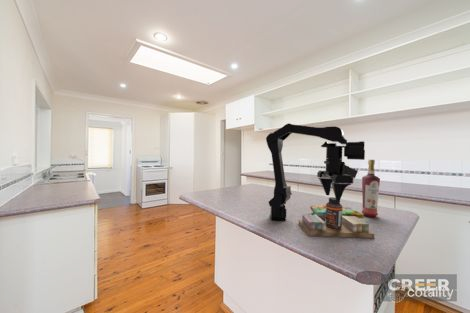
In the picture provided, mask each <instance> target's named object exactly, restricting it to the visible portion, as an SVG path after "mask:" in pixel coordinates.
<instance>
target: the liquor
mask: <svg viewBox="0 0 470 313" xmlns="http://www.w3.org/2000/svg"><path fill="white" fill-rule="evenodd" d="M375 162H376V160H375V159H368V160H367V164H368V167H367V174H366V175H364V176H362V177H361V187H362V190H361V191H362V192H361V194H362V210H361V214H363V215H364V217H368V218H375V217H377V216H378V215H379V213H378V203H379V202H378V201H379V193H380V181H381V179H380V178H379V176H377V175H375Z"/></svg>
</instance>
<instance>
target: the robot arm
mask: <svg viewBox="0 0 470 313" xmlns="http://www.w3.org/2000/svg"><path fill="white" fill-rule="evenodd" d="M291 134H296V135H301V136H302V135H303V136H311V137H317V138H320V139H323V140H327V141H324V143H322V145H320V147H321V148H326V152H325V153H326V154H325V160H323V163H324V164H325V170H318V172H316V174H317V175H316V177H317V178H318V180H319V182H320V184H321V186H322V188H323V191H324V192H325V195H326V196H330V194H331V187H332V190H333V193H334V194H333V195H334V198H336V200H337V201H340V202H341V198H342V196H343V194H344V191H345V189H346V188H347V187H349V186H351V185H352V184H354V179H356V177H357V175H358V172H359V171H358V170H357V169H356V168H352V167H350V166H349V165H347V164H346V162H345V161H343V156H344V157H346V159H347V160H359V161H361V160H362V161H364V160H365V153H366V152H365V151H366V150H365V140H364V141H363V140H362V141H348V139H346V138H345V137H344V131H343V130H342V129H341V128H340V127H338V126H334V125H333V126H321V127H318V126H317V127H316V126H309V125H301V124H299V125H298V124H293V123H290V122H289V123H286V124H285V125H283V126H282V127H280V128H278V129H276V130H275V131H274V132H270V133H269V134H268V135H267V136H266V138H265V140H266V144H267V149H269V151H270V153H271V160H272V168H273V175H274V188H273V197H272V198H271V199H270V200H269V201H268V205H269V207H270V211H269V212H270V214H269V217H270V220H271V221H282V222H283V221H285V222H286V221H287V208H286V204H287V202H288V201H289V200H290V199H291V195H292V194H293V193H292V190H291V185H287V184H288V183H287V182H286V176H285V170H284V162H283V155H282V150H283V147H284V146H283V145H284V141H285V140H286V139H288V137H290V135H291ZM328 141H329V143H328ZM330 142H332V143H330ZM337 143H339V144H340V145H337Z"/></svg>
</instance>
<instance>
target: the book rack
mask: <svg viewBox="0 0 470 313" xmlns="http://www.w3.org/2000/svg"><path fill="white" fill-rule="evenodd" d="M298 225H299V226H300V227H301V229H302V230H303V232H304V233H305V234H306V236H311V237H313V236H314V237H316V236H317V237H338V238H341V237H343V238H361V239H363V238H364V239H374V238H375V233H374V232H372V231H370V228H369V227H370V226H369V225H370V224H369V223H368V222H366V221H364V220H362V218H357V217H355V216H342V227H341V228H340V229H333V228H329V227H327V226H326V223H325V220H322V219H321V218H319V217H318V216H317V215H314V214H302V219H301V220H300V219H299V220H298Z"/></svg>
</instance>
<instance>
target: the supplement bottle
mask: <svg viewBox="0 0 470 313" xmlns="http://www.w3.org/2000/svg"><path fill="white" fill-rule="evenodd" d="M325 205H326V214H325V220H324V221H325V223H326V226H327V227H329V228H333V229H340V228H341V227H342V207H343V205H342V204H341V200H340V201H337V200H336V198H335V196H334V197H333V196H331V197H328V201H327V202H326V204H325Z"/></svg>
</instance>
